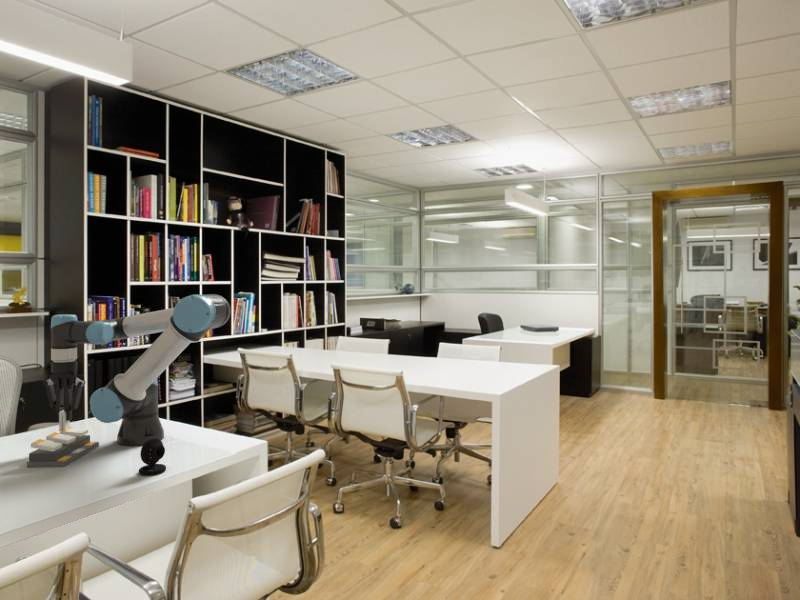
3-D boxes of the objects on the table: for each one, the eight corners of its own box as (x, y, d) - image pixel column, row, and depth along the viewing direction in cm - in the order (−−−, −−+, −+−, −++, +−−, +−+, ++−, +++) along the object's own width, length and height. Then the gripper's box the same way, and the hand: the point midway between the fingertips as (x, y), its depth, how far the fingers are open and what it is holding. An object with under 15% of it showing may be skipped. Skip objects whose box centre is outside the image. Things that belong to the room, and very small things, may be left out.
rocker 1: (61, 447, 174) (62, 443, 174) (53, 451, 170) (54, 447, 170) (39, 443, 174) (40, 438, 174) (30, 447, 170) (31, 442, 170)
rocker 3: (88, 433, 190) (88, 429, 190) (81, 436, 185) (81, 432, 185) (67, 430, 189) (67, 426, 189) (59, 434, 185) (60, 430, 185)
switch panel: (99, 446, 190) (98, 434, 190) (63, 466, 169) (63, 453, 169) (66, 446, 190) (66, 435, 190) (27, 467, 169) (26, 454, 169)
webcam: (152, 477, 160) (151, 443, 160) (132, 474, 163) (131, 440, 162) (172, 469, 167) (171, 436, 167) (152, 466, 170) (152, 433, 169)
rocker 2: (75, 440, 182) (76, 436, 182) (67, 444, 177) (68, 440, 177) (53, 436, 182) (54, 432, 182) (45, 440, 177) (46, 435, 177)
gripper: (90, 359, 190) (90, 427, 191) (50, 358, 190) (50, 426, 191) (78, 362, 183) (78, 433, 184) (36, 361, 182) (37, 432, 183)
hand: (64, 430), depth 187 cm, fingers closed
